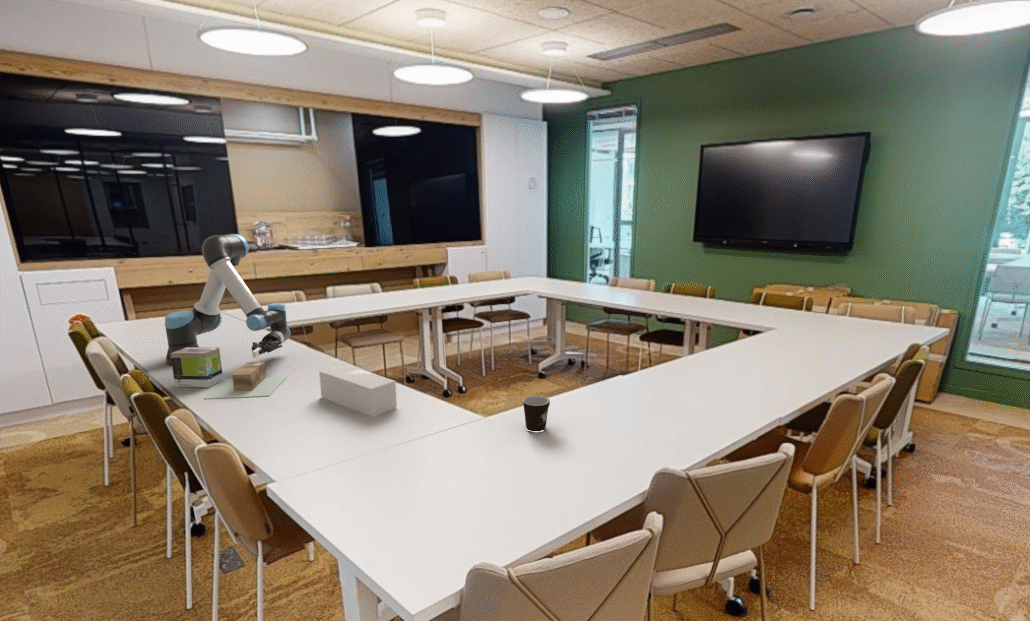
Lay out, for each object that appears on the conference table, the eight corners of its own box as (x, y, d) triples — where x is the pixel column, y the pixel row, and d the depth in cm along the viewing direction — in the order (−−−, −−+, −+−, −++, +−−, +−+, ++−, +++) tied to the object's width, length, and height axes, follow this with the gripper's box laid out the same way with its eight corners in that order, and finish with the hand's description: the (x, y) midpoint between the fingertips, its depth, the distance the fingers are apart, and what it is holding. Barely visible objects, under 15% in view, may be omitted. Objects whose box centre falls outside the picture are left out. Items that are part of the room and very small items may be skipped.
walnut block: (247, 362, 221) (232, 374, 206) (264, 361, 222) (250, 373, 207) (249, 378, 223) (234, 391, 207) (266, 377, 224) (252, 390, 208)
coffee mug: (530, 436, 167) (531, 407, 165) (518, 426, 175) (518, 398, 173) (561, 429, 173) (561, 401, 171) (548, 420, 180) (548, 392, 178)
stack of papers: (397, 408, 191) (395, 380, 189) (373, 417, 183) (371, 388, 181) (344, 390, 210) (343, 364, 208) (321, 397, 202) (319, 371, 200)
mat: (227, 380, 221) (227, 379, 221) (286, 377, 224) (286, 377, 224) (204, 399, 200) (204, 398, 200) (269, 396, 203) (269, 395, 203)
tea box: (224, 380, 221) (220, 346, 218) (208, 388, 212) (203, 353, 209) (191, 379, 223) (186, 346, 220) (174, 387, 213) (169, 352, 210)
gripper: (288, 347, 244) (271, 362, 221) (259, 348, 243) (239, 363, 220) (286, 332, 243) (269, 345, 220) (257, 333, 241) (237, 346, 218)
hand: (254, 354), depth 220 cm, fingers closed
